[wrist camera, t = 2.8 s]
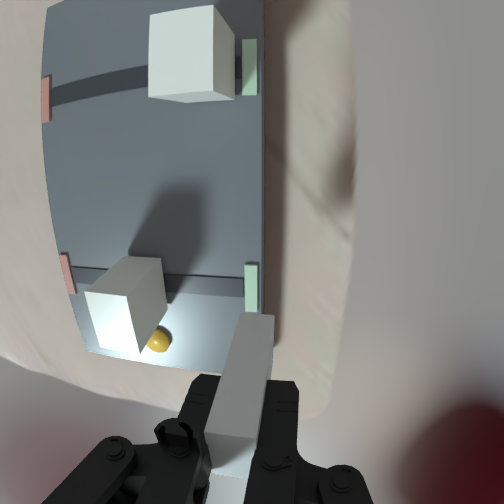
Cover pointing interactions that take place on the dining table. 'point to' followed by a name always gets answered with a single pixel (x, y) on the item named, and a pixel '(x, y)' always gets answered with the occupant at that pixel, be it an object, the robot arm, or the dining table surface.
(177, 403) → the dining table surface
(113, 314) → the block
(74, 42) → the breaker panel
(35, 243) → the dining table surface
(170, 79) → the block
